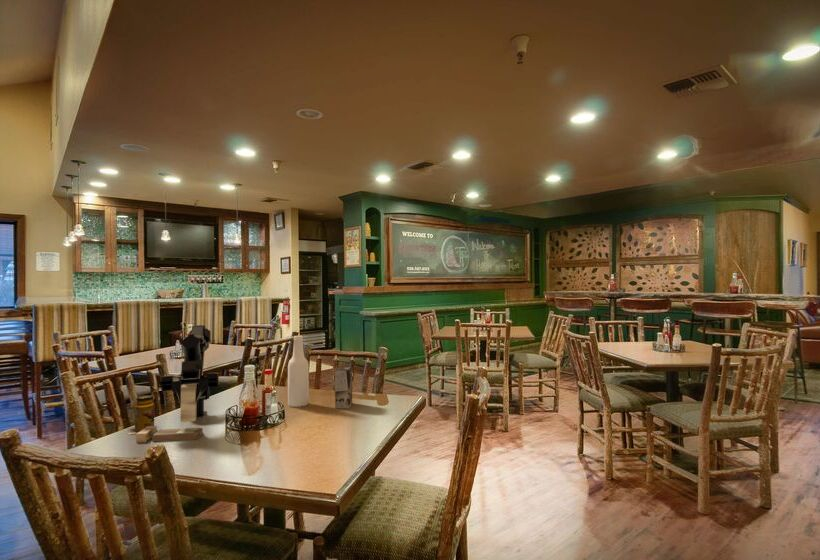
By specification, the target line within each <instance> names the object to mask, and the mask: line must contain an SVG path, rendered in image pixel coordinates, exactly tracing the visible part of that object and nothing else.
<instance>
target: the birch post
mask: <svg viewBox="0 0 820 560" xmlns="http://www.w3.org/2000/svg"><path fill="white" fill-rule="evenodd" d="M196 393H197V384H187V385H181V403H180V423H189V422H190V423H191V422H195V421H196V420H197V417H196V413H197V402H196V401H195V399H196Z"/></svg>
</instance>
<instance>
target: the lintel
mask: <svg viewBox="0 0 820 560" xmlns="http://www.w3.org/2000/svg"><path fill="white" fill-rule="evenodd" d="M156 432H157V426H156V425H155V426H147V427H146V428H144V429H143V430H141V431H140V432H138V433H136V434H135V435H136V437H135V441H136V442H135V443H146V442H148V441H149V440H150V439H153V434H155V433H156ZM147 440H148V441H147Z"/></svg>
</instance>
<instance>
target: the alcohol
mask: <svg viewBox="0 0 820 560" xmlns="http://www.w3.org/2000/svg"><path fill="white" fill-rule="evenodd" d="M303 337H304V336H303V335H294V336H293V347H292V350H293V351H292V356H291V358H290V359H289V361H288V364H287V405H288V406H289V407H290V406H291V407H290V408H292V407H293V408H302V407H301V406H303V407H306V406H307V405H308V404H309V400H310V399H309V393H310V392H309V390H310V389H309V387H310V386H309V385H310V384H309V381H310V380H309V379H310V378H309V374H310V373H309V367H310V366H309V361H308V359H307V358H306V357H305V353H304V338H303ZM305 405H306V406H305Z"/></svg>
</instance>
